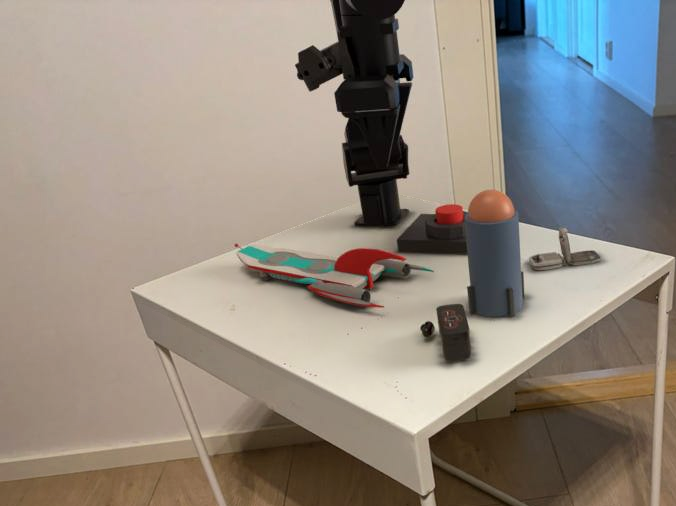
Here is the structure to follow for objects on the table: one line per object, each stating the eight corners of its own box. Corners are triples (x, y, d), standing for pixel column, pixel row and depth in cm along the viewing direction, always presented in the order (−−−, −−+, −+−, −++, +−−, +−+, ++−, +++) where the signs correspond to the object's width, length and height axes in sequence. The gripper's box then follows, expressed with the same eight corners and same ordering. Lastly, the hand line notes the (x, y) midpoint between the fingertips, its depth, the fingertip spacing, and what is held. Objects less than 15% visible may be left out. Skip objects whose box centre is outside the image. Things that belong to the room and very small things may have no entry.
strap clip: (533, 272, 86) (532, 239, 84) (527, 262, 89) (526, 230, 86) (601, 262, 87) (602, 229, 85) (593, 253, 90) (594, 221, 87)
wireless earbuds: (464, 327, 75) (461, 299, 73) (472, 361, 69) (470, 331, 67) (420, 333, 75) (417, 305, 73) (425, 367, 69) (421, 338, 67)
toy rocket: (456, 302, 80) (445, 189, 74) (508, 287, 83) (502, 176, 76) (485, 325, 75) (475, 206, 68) (539, 308, 78) (535, 191, 71)
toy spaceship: (205, 297, 91) (192, 259, 88) (265, 263, 99) (254, 227, 97) (384, 313, 78) (374, 269, 76) (434, 273, 87) (427, 232, 84)
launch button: (441, 216, 96) (440, 204, 95) (466, 217, 95) (465, 204, 94) (433, 225, 93) (431, 213, 92) (459, 226, 92) (458, 213, 92)
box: (422, 225, 103) (419, 202, 101) (489, 227, 100) (487, 202, 99) (398, 252, 95) (394, 227, 93) (470, 254, 92) (468, 228, 90)
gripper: (313, 10, 85) (336, 142, 93) (270, 28, 69) (302, 186, 77) (405, 3, 85) (420, 136, 93) (384, 19, 69) (404, 179, 77)
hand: (387, 157), depth 85 cm, fingers open, 9 cm apart
